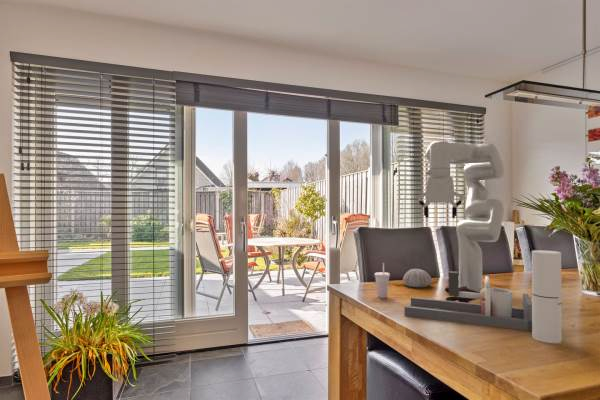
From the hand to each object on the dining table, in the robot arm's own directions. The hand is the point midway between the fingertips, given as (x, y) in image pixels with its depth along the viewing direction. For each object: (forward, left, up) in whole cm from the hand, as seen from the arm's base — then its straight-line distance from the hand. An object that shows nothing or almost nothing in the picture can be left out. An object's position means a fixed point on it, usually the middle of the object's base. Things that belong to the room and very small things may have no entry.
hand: (440, 217), depth 145 cm
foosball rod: (+13, +11, -33) cm, 37 cm away
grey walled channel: (+13, +10, -33) cm, 37 cm away
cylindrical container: (+26, +31, -34) cm, 53 cm away
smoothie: (-2, -23, -34) cm, 41 cm away
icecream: (-6, +9, -34) cm, 35 cm away
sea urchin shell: (-30, -13, -34) cm, 47 cm away
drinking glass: (+13, +20, -34) cm, 41 cm away
